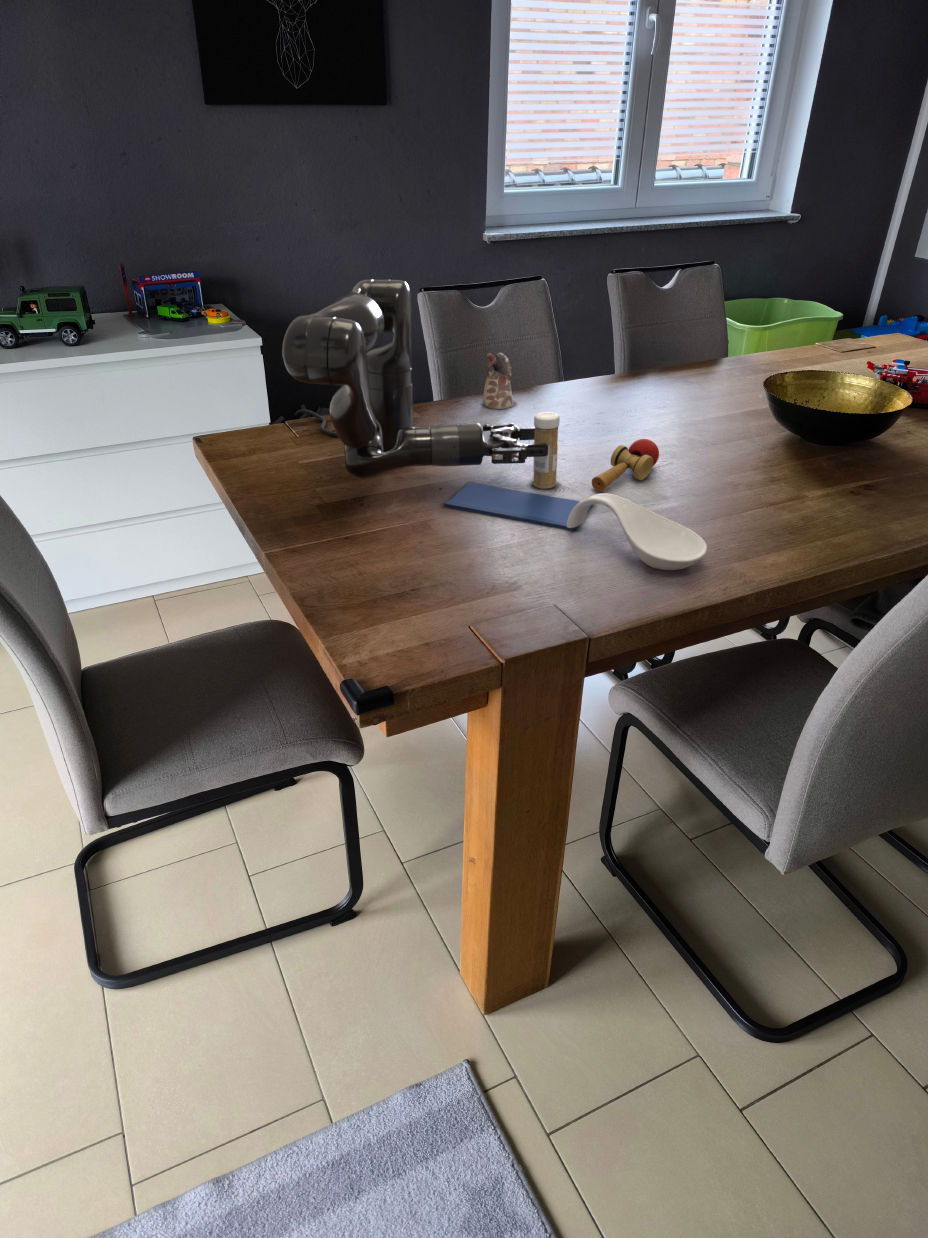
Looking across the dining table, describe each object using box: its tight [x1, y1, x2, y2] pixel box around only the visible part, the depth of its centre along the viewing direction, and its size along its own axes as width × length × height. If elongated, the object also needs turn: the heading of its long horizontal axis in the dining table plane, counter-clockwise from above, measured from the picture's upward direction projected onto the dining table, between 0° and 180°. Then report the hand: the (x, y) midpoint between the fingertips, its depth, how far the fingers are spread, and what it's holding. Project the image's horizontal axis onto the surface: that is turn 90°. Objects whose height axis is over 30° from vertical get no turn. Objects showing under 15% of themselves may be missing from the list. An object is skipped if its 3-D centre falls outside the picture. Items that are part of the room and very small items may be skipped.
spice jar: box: [532, 411, 560, 490], centre depth 153 cm, size 5×5×14 cm
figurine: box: [482, 352, 514, 410], centre depth 194 cm, size 7×7×12 cm
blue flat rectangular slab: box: [444, 481, 594, 531], centre depth 148 cm, size 24×11×1 cm, turn 66°
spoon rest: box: [566, 492, 708, 571], centre depth 132 cm, size 24×12×7 cm, turn 48°
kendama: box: [591, 438, 660, 493], centre depth 158 cm, size 8×6×18 cm
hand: (543, 441), depth 152 cm, fingers open, 8 cm apart
